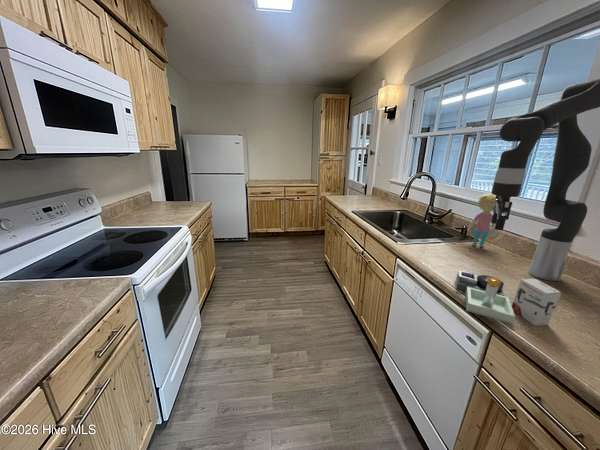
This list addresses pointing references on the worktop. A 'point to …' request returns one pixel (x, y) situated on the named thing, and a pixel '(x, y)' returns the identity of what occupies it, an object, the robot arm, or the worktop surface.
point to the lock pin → (490, 292)
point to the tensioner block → (474, 282)
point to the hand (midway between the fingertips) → (496, 226)
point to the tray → (498, 311)
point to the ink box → (535, 301)
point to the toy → (484, 218)
